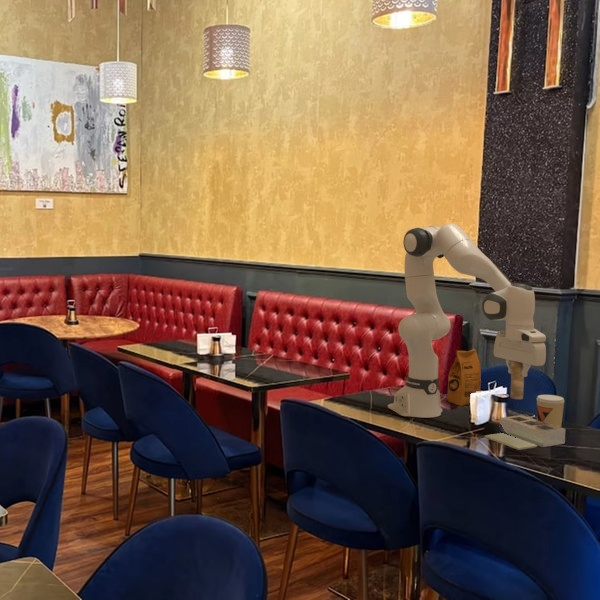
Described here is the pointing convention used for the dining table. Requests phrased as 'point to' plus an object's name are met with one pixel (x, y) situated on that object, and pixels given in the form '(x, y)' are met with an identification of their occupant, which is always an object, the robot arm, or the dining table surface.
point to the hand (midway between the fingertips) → (517, 375)
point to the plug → (517, 381)
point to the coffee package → (464, 377)
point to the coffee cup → (550, 409)
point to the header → (533, 430)
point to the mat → (510, 441)
